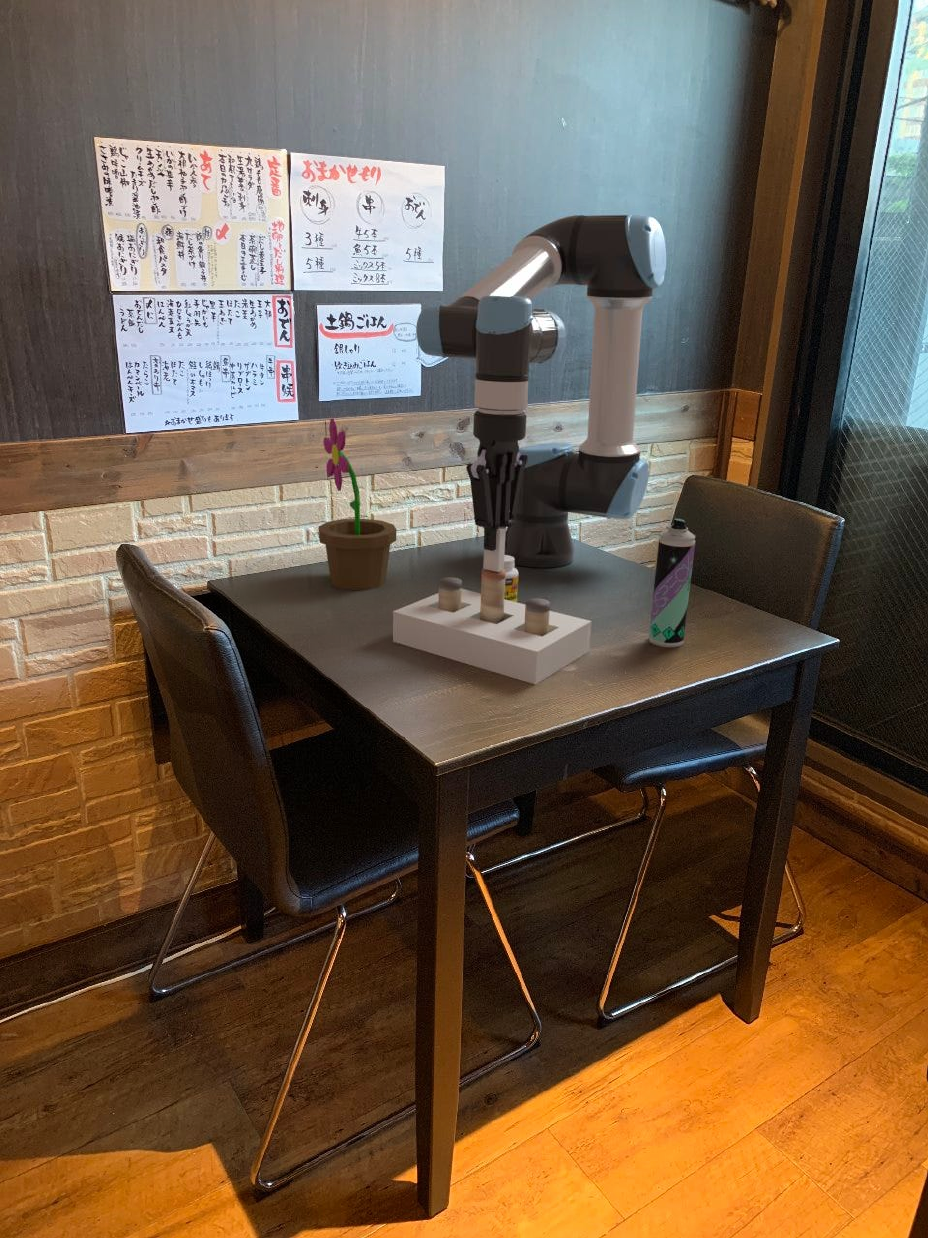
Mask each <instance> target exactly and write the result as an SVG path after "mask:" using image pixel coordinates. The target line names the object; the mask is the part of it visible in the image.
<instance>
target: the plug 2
mask: <svg viewBox="0 0 928 1238" xmlns="http://www.w3.org/2000/svg"><path fill="white" fill-rule="evenodd" d="M505 573H506V571H505V570H502V571H500V572H495V571H491V570H487V569H483V568H482V569H481V578H480V579H481V582H480V585H481V586H480V593H481V606H480V620H482V621H486V622H490V623H493V624H498V623H500V622H502V621H503V617H504V595H505Z"/></svg>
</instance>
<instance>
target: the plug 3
mask: <svg viewBox="0 0 928 1238" xmlns="http://www.w3.org/2000/svg"><path fill="white" fill-rule="evenodd" d="M525 605H526V606H525V624H524V632H527V633H531V634H534V635H538V636H542V637H543V636H544V635H546V634H548V629H549V613H550V611H551V601H549V600H547V599H544V598H537V597H536V598H529V599H526V600H525Z"/></svg>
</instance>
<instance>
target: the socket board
mask: <svg viewBox="0 0 928 1238" xmlns="http://www.w3.org/2000/svg"><path fill="white" fill-rule="evenodd" d="M438 601H439V592H438V593H437V592H436V593H435V594H432V595H430V596H428V597H426V598H423V599H420V600H417V601H415V602H412V603H411V604H408V605H406V606H402V607H401V608H398V609H395V610H393V611H392V642H393V643H397V644H400V645H403V646H406V647H410V648H413V649H417V650H420V651H423V652H426V653H429V654H433V655H436V656H440V657H443V658H447V659H450V660H452V661H457V662H460V663H463V664H467V665H469V666H472V667H475V668H479V669H482V670H485V671H488V672H492V673H496V674H500V675H502V676H505V677H510V678H513V679H517V680H519V681H522V682H527V683H529V684H531V685H537V684H539V683H541V682H542V681H543V680H545V679H547V678H549V677H550V676H551V675H553V674H556V673H557V672H558V671H560V670H562V669H563V668H564V667H566V666H568V665H569V664H571V663H573V662H575V661H576V660H578V659H579V658H581V657H582V656H584V655H586V654H587V653H589V652H590V643H591V632H592V631H591V630H592V622H593V621H592V620H588V619H583V618H581V617H577V616H576V617H575V616H573V615H568V614H564V613H560V612H556V611H552V610H550V613H549V629H548V634H546V635H544V636H543V637H542V636H538V635H534V634H531V633H527V632H524V624H525V606H526V603H525V604H524V603H520V602H518V601H517V602H513V601H509V600H505V599H504V617H503V621H502V622H500V623H498V624H493V623H490V622H486V621H482V620H480V606H481V592H478V591H477V592H476V591H472V590H468V589H464V588H462V593H461V610H458V611H456V612H454V613H452V612H449V611H445V610H441V609H438Z"/></svg>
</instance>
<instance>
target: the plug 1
mask: <svg viewBox="0 0 928 1238" xmlns="http://www.w3.org/2000/svg"><path fill="white" fill-rule="evenodd" d="M462 584H463V581H462V579H460V578H458V577H447V576H446V577H442V578H439V580H438V593H439V601H438V609H441V610H445V611H449V612H452V613H454V612H456V611H458V610H461V593H462V589H463V587H462Z"/></svg>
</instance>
